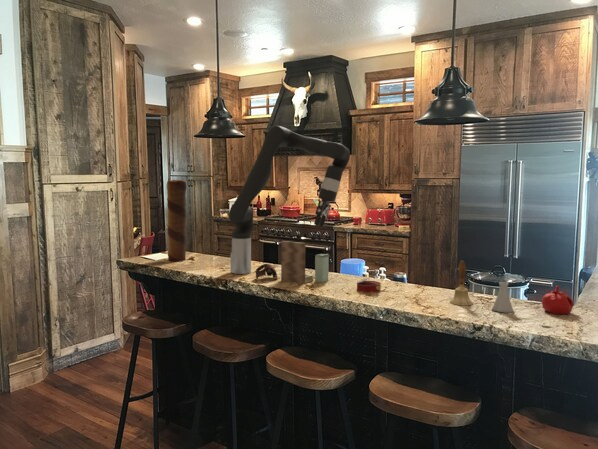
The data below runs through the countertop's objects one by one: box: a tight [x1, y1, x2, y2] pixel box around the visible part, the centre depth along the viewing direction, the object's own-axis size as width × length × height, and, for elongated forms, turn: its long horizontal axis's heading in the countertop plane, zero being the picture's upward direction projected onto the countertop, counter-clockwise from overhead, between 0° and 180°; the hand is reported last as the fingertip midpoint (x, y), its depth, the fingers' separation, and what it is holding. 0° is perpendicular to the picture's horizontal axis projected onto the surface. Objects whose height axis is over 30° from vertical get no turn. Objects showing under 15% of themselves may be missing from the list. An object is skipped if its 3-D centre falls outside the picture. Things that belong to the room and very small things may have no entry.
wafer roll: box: [166, 179, 187, 262], centre depth 269 cm, size 10×11×45 cm
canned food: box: [356, 271, 382, 294], centre depth 201 cm, size 11×10×10 cm
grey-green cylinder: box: [314, 253, 330, 283], centre depth 217 cm, size 4×5×12 cm
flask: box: [491, 281, 514, 314], centre depth 170 cm, size 7×7×10 cm
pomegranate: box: [541, 285, 574, 315], centre depth 168 cm, size 10×10×9 cm
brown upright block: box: [280, 240, 314, 285], centre depth 217 cm, size 12×9×18 cm
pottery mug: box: [254, 263, 278, 281], centre depth 222 cm, size 12×10×8 cm
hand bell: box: [449, 260, 474, 307], centre depth 180 cm, size 8×8×16 cm
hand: (318, 225), depth 208 cm, fingers open, 8 cm apart
